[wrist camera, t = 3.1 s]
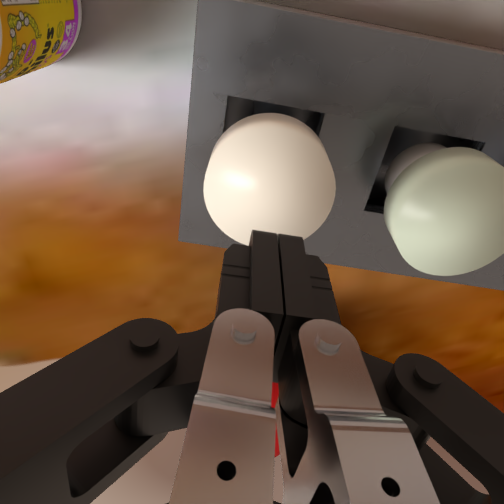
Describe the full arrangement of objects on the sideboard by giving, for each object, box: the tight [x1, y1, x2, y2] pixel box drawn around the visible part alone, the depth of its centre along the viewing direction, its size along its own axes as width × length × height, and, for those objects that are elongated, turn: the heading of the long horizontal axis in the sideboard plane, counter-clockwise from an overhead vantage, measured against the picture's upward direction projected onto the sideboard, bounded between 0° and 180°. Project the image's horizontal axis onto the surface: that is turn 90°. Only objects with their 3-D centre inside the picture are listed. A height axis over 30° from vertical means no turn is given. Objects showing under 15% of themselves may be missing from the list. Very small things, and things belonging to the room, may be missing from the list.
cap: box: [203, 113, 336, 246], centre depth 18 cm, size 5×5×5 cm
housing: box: [178, 0, 504, 290], centre depth 23 cm, size 24×12×6 cm, turn 80°
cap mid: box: [384, 142, 504, 276], centre depth 19 cm, size 5×5×5 cm
